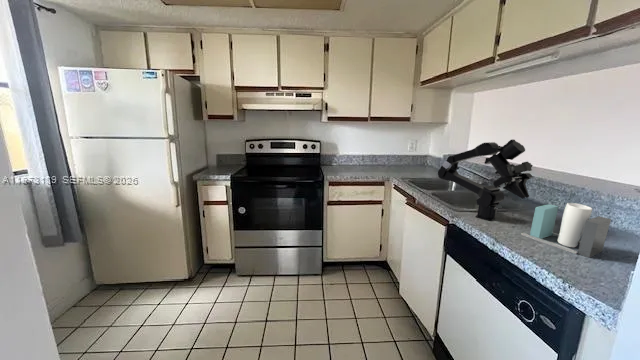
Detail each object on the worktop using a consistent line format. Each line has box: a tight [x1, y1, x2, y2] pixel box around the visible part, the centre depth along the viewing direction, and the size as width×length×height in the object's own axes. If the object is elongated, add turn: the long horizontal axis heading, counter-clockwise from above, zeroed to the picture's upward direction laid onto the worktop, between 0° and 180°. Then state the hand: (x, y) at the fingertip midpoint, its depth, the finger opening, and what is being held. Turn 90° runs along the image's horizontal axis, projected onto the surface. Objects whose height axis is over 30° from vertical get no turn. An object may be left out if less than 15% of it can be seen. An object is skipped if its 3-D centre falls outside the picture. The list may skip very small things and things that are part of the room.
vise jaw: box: [529, 203, 559, 239], centre depth 103 cm, size 3×10×12 cm, turn 117°
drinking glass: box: [557, 202, 593, 248], centre depth 96 cm, size 7×7×15 cm
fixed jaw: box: [521, 216, 612, 259], centre depth 98 cm, size 20×12×12 cm, turn 27°
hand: (525, 197), depth 108 cm, fingers open, 3 cm apart
